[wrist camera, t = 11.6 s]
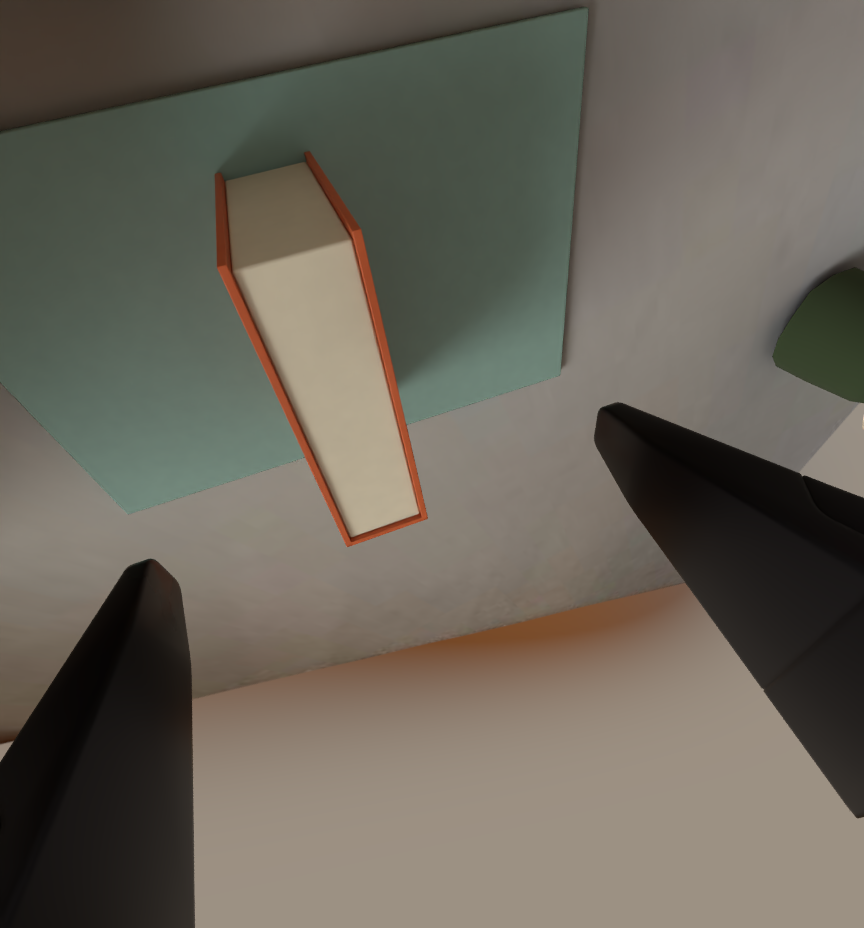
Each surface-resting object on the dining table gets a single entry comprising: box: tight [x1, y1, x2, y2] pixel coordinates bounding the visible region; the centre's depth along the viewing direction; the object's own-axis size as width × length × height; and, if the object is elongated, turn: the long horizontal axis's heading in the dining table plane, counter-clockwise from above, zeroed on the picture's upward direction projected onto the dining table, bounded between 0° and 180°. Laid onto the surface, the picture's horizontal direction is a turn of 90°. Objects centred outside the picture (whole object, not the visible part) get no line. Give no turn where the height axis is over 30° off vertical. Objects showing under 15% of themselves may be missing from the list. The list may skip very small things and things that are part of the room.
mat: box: [0, 7, 589, 514], centre depth 19 cm, size 22×14×1 cm, turn 98°
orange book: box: [215, 151, 428, 547], centre depth 16 cm, size 3×10×8 cm, turn 8°
